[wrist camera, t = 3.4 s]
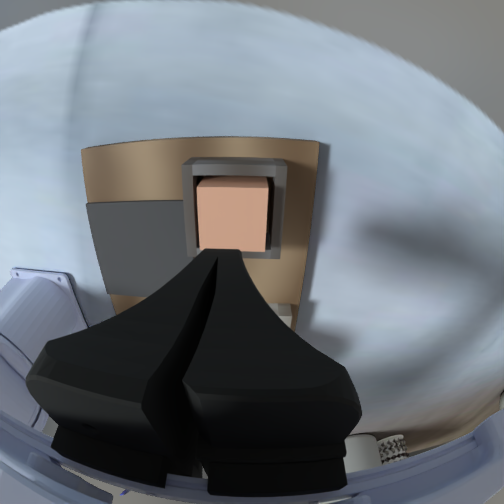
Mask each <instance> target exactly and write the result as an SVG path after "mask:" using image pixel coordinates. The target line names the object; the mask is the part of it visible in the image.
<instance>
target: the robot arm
mask: <svg viewBox="0 0 504 504" xmlns="http://www.w3.org/2000/svg"><path fill="white" fill-rule="evenodd" d="M10 274H11V276H12V278H11V280H10V281H9V282H8V283H7V284H6V285H5V286H4V287H3V288H2V289H1V290H0V504H112V500H113V496H112V494H110V493H108V492H106V491H104V490H101V489H99V488H97V487H95V486H93V485H92V484H90V483H88V482H86V481H85V480H83V479H82V478H81V477H79V476H77V475H75V474H73V473H71V472H69V471H67V470H65V469H63V468H62V467H61V465H63V466H65V467H67V468H69V469H72V470H74V471H76V472H79V473H81V474H84V475H86V476H89V477H91V478H94V479H97V480H99V481H102V482H105V483H108V484H111V485H114V486H118V487H121V488H124V489H127V490H131V491H135V492H138V493H143V494H146V495H151V496H155V497H160V498H165V499H170V500H176V501H182V502H189V503H196V504H314V503H322V502H329V501H335V500H341V499H345V500H341V501H337V502H333V503H328V504H484V503H485V502H487V501H488V500H489V499H490V498H491V497H492V496H494V495H495V494H496V493H497V492H498V491H499V490H500V489H502V488H503V487H504V408H503V409H502V410H500V411H498V412H497V413H495V414H493V415H491V416H490V417H488V418H487V419H486V420H484V421H483V422H482V423H481V424H480V425H479V426H477V427H476V428H475V429H474V431H473V432H471V433H469V434H467V435H465V436H463V437H461V438H459V439H456V440H454V441H452V442H450V443H447V444H445V445H442V446H440V447H437V448H435V449H432V450H430V451H427V452H424V453H421V454H418V455H416V456H413V457H410V458H406V459H403V460H400V461H397V462H393V463H390V464H386V465H382V466H378V467H374V468H370V469H366V470H361V471H356V472H351V473H346V471H345V465H344V459H343V457H345V456H346V454H347V451H346V445H345V439H346V438H347V436H348V435H349V434H350V433H351V431H352V430H353V429H354V428H355V426H356V425H357V424H358V422H359V420H360V418H361V416H362V410H361V405H360V401H359V397H358V394H357V392H356V389H355V387H354V385H353V383H352V380H351V378H350V376H349V374H348V372H347V370H346V368H345V367H344V366H342V365H341V364H339V363H337V362H336V361H334V360H333V359H331V358H329V357H328V356H326V355H324V354H323V353H321V352H320V351H318V350H317V349H315V348H314V347H312V346H311V345H310V344H308V343H307V342H306V341H304V340H303V339H302V338H301V337H299V336H298V335H297V334H296V333H295V332H294V331H293V330H292V329H291V328H290V327H288V326H287V325H286V324H285V323H284V322H283V321H282V320H281V319H280V318H279V316H278V315H277V314H276V313H275V312H274V311H273V310H272V308H271V307H270V306H269V305H268V304H267V302H266V301H265V300H264V298H263V297H262V295H261V294H260V292H259V291H258V289H257V288H256V286H255V284H254V283H253V281H252V279H251V277H250V275H249V273H248V271H247V269H246V267H245V264H244V261H243V258H242V252H241V251H240V250H239V249H212V248H205V249H204V250H203V251H201V252H200V253H199V254H198V255H197V256H196V257H195V258H194V259H193V260H192V261H191V262H190V263H189V264H188V265H187V266H186V267H185V268H184V269H182V270H181V271H180V272H179V273H178V274H177V275H176V276H175V277H173V278H172V279H171V280H170V281H168V282H167V283H166V284H165V285H164V286H162V287H161V288H160V289H158V290H157V291H156V292H154V293H153V294H151V295H150V296H148V297H147V298H145V299H144V300H142V301H141V302H139V303H137V304H136V305H134V306H132V307H130V308H129V309H127V310H125V311H123V312H121V313H119V314H118V315H116V316H114V317H112V318H110V319H108V320H105V321H103V322H101V323H99V324H96V325H94V326H91V327H89V328H88V327H87V325H86V322H85V320H84V318H83V315H82V313H81V310H80V308H79V305H78V303H77V300H76V298H75V295H74V292H73V290H72V287H71V284H70V281H69V278H68V276H67V275H66V274H64V273H54V272H43V271H34V270H25V269H16V268H12V269H11V270H10ZM71 333H72V334H71ZM48 416H50V417H51V418H52V419H53V420H54V421H55V422H56V423H57V424H58V425H59V426H58V428H57V431H56V433H55V436H54V438H52V437H50V436H48V435H46V434H44V433H42V431H43V429H44V427H45V424H46V422H47V419H48ZM202 466H203V468H204V470H205V472H206V474H207V476H208V479H203V478H202ZM346 498H349V499H346Z"/></svg>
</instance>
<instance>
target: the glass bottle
mask: <svg viewBox="0 0 504 504" xmlns="http://www.w3.org/2000/svg"><path fill="white" fill-rule="evenodd" d="M499 407H500V410H502V409H503V408H504V392H503V393H502V395H501V397H500V402H499Z"/></svg>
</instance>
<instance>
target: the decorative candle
mask: <svg viewBox="0 0 504 504" xmlns="http://www.w3.org/2000/svg"><path fill="white" fill-rule="evenodd" d="M403 437H404V436H403V435H401V434H400V435H394V436H390V437H387V438H384V439H381V440H379V441H377V445H378V449H379V453H380V457H381V462H382V465H386V464H390V463H393V462H397V461H400V460H403V459H406V458H407V457H408V456H409V454H408V453H405V452H406V450H407V446H405V440H403Z"/></svg>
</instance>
